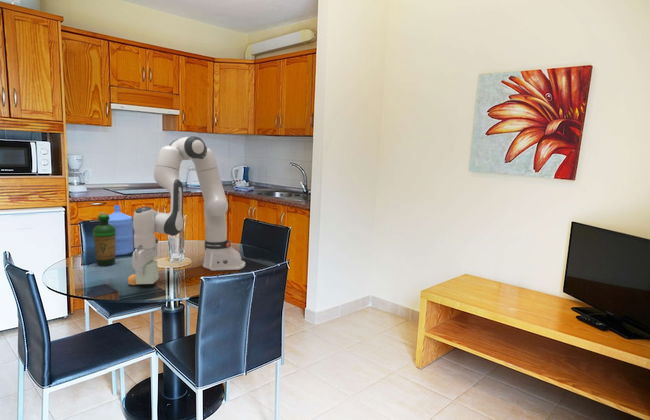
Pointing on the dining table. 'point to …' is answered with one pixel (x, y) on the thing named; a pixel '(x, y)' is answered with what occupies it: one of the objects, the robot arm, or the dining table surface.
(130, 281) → the ball
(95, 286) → the dining table surface
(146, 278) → the beige rounded cube
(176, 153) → the robot arm
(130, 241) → the water jug
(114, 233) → the bottle
